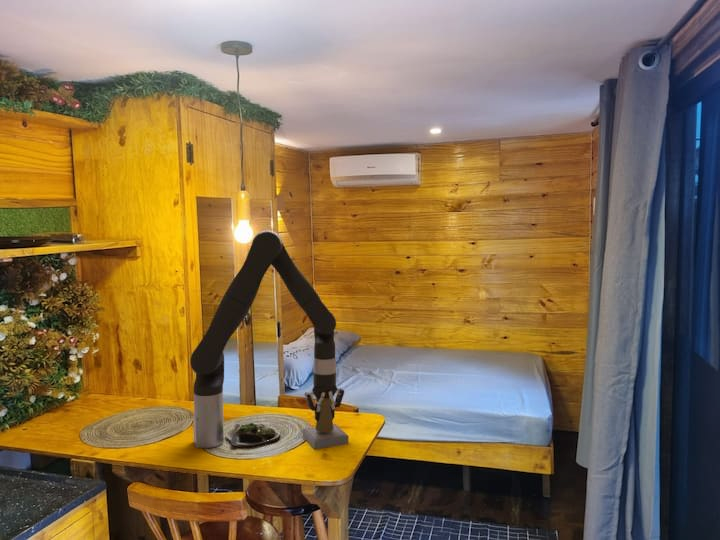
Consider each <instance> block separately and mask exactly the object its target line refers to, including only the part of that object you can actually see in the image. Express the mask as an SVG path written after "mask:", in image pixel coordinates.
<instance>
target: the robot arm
mask: <svg viewBox="0 0 720 540" xmlns="http://www.w3.org/2000/svg"><path fill="white" fill-rule="evenodd" d="M270 267H272V268H274V270H275V271H276V272H277V273H278V275H279V276H280V278H281V280H282V281H283V284H284V285H285V287H286V288H287V290H288V292H289V294H290V295H291V296H292V298H293V299H294V301H295V302H296V303H297V304H298V306H299V307H300V308H301V310H302V311H303V312H304V313H305V314H306V315H307V318H308V319H309V320H310V322H311V324H312V325H313V332H314V347H313V355H314V356H313V367H312V371H313V373H312V374H313V375H312V376H313V379H312V380H313V384H312V385H313V387H312V390H311V391H309V392H307V391H306V392H305V393H304V397H305V400H306V403H307V405H308V408H309V410H311V411H312V412H313V411H314V420H315V421H318V422H319V418H320V412H319V411H320V408H321V407H320V405H321V401H322V400H323V399H324V398H330V399H331V401H332V405H331V414H332V421H334V419H335V414H336V413H335V410H336V408H340V407H341V405H342V401H343V398H344V395H345V390H344V389H343V388H341V387H339V388H338V387H337V360H336V343H335V329H336V327H337V320H336V317H335V315H334V314H333V313H332V312H331V311H330V310H329V308H327V306H326V305H325V304H324V302H322V300H321V298H320V296H319V294H318V293H317V291H316V289H314V287H313V286H312V284H311V283H310V282H309V281H308V279H307V278H306V277H305V276H304V275H303V273H302V272H301V270H299V268H298V267H297V265H296V264H295V262H294V260H292V258H291V256H290V255H289V252H288V251H287V248H286V247H285V245H284V243H283V240H282V237H281V236H280V234H278V233H277V232H276V231H274V230H272V229H271V230H270V229H266V230H262V231H260V232H258V233H257V234H255V236H254V237H253V239H252V243H251V246H250V248H249V250H248V253H247V255H246V258H245V260H244V262H243V264H242V267H241V268H240V270H239V271H238V272H237V274H236V275H235V277H234V278H233V280H231V283H230V284H229V285H228V287H227V289H226V291H225V292H224V294H223V296H222V299H221V300H220V302H219V304H218V307H217V309H216V311H215V313H214V315H213V318H212V320H211V322H210V324H209V327H208V329H207V331H206V333H205V334H204V336H203V337H202V339H201V340H200V342H199V343H198V344H197V346H196V347H195V349H194V350H193V351H192V353H191V354H190V355H191V356H190V362H189V363H190V367H191V369H192V371H193V372H194V373H195V380H194V384H193V411H194V412H193V414H192V415H193V418H192V419H193V421H192V422H193V443H194V446H195V449H198V448H199V449H200V448H202V449H206V448H208V449H209V448H215V447H219V446H220V445H222V444H224V440H225V439H224V438H225V437H224V436H225V434H224V394H223V393H224V390H223V389H224V381H225V355H224V354H225V353H224V350H225V347H226V345H227V344H228V342H229V340H230V339H231V337H232V336H233V335H234V333H235V332H236V331H237V330H238V328H239V327H240V325H241V323H242V322H243V321H244V320H245V318H246V316H247V314H248V313H249V311H250V309H251V308H252V306H253V304H254V301H255V299H256V297H257V295H258V292H259V289H260V285H261V284H262V281H263V278H264V276H265V274H266V272H267V271H268V270H269V268H270ZM335 395H336V397H335V399H334V396H335ZM313 396H314V397H315V401H314V403H313ZM317 399H318V400H319V402H317Z"/></svg>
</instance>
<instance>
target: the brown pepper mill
mask: <svg viewBox="0 0 720 540" xmlns="http://www.w3.org/2000/svg"><path fill="white" fill-rule="evenodd" d="M317 402H319V400H318V399H317ZM331 405H332V401H331V399H330V398H324V399H323V400H322V401H321V405H320V407H321V408H320V411H319V412H320V418H319V422H318V421H316V420H315V421H316V423H315V427H316V430H317V431H319V432H329V431H332V430H333V429H334V428H333V424H334V422H333V421H334V420H332V414H331Z"/></svg>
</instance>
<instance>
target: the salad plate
mask: <svg viewBox="0 0 720 540" xmlns="http://www.w3.org/2000/svg"><path fill="white" fill-rule="evenodd" d="M257 430H260V431H257ZM225 437H226V439H227V440H228V441H229V442H230V444H231V446H235V447H237V448H240V447H241V449H253V448H252V447H255V448H259V447H258V446H260V447H263V446H262V445H264V446H266V445H265V444H268V445H270V444H269V443H271V444H273V443H276V442H277V441H278V440H279V439H280V437H281V432H280V431H278V430H277V429H275V428H273V427H272V426H271V425H269V424H265V423H256V424H255V423H254V422H250V423H246V424H245V423H244V422H243V423H242V424H240V423H236V424H234V427H233V429H230V430H228V431H227V432H226V433H225ZM267 440H269V441H267ZM272 442H273V443H272Z"/></svg>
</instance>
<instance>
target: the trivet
mask: <svg viewBox="0 0 720 540" xmlns="http://www.w3.org/2000/svg"><path fill="white" fill-rule="evenodd" d="M333 428H334V429H333V430H332V431H329V432H319V431H317V430H316V426H312V427H306V428H302V430H301V431H302V435H303V436H304V437H303V436H302V437H303V438H304V440H305V441H306V442H307V443H308V444H309V445H310V447H312V448H313V450H318V449H325V448H329V447H335V446H340V445H341V446H342V445H346V444H349V435H348V434H347V433H346V432H345V431H344V430H343V429H342V428H340V427H339V426H338V425H337V424H336V423H333Z"/></svg>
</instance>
